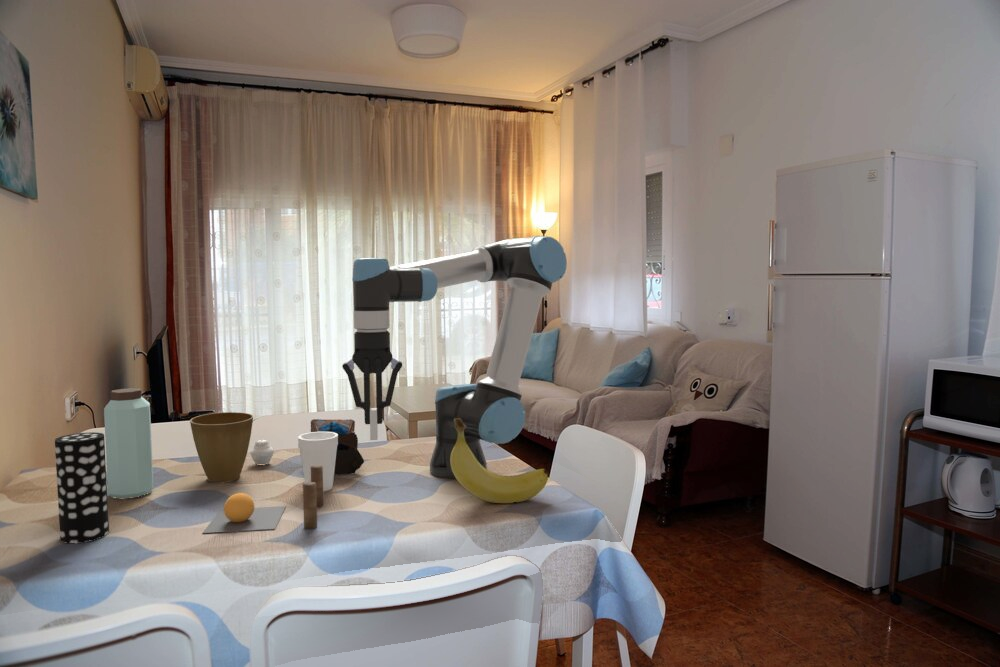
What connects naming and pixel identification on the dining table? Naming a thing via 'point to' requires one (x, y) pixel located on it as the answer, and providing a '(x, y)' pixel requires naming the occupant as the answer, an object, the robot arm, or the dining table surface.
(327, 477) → the foam cup
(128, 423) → the water bottle
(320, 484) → the post
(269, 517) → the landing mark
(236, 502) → the ball
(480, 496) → the banana
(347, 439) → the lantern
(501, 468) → the dining table surface
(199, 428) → the plant pot
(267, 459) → the white lidded jar
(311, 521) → the post
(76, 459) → the spotted tube
